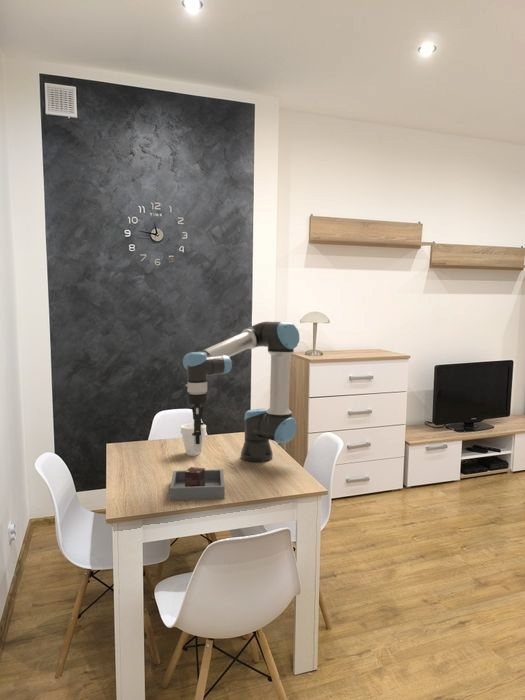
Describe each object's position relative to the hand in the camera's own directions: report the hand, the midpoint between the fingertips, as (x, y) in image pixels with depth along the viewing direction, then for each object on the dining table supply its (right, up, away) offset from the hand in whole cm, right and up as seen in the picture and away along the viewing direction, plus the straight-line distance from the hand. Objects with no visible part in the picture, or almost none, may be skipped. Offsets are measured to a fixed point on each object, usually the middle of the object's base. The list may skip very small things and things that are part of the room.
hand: (198, 446), depth 191 cm
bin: (0, -17, +1) cm, 17 cm away
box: (-1, -17, +1) cm, 17 cm away
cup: (-9, -13, +49) cm, 52 cm away
